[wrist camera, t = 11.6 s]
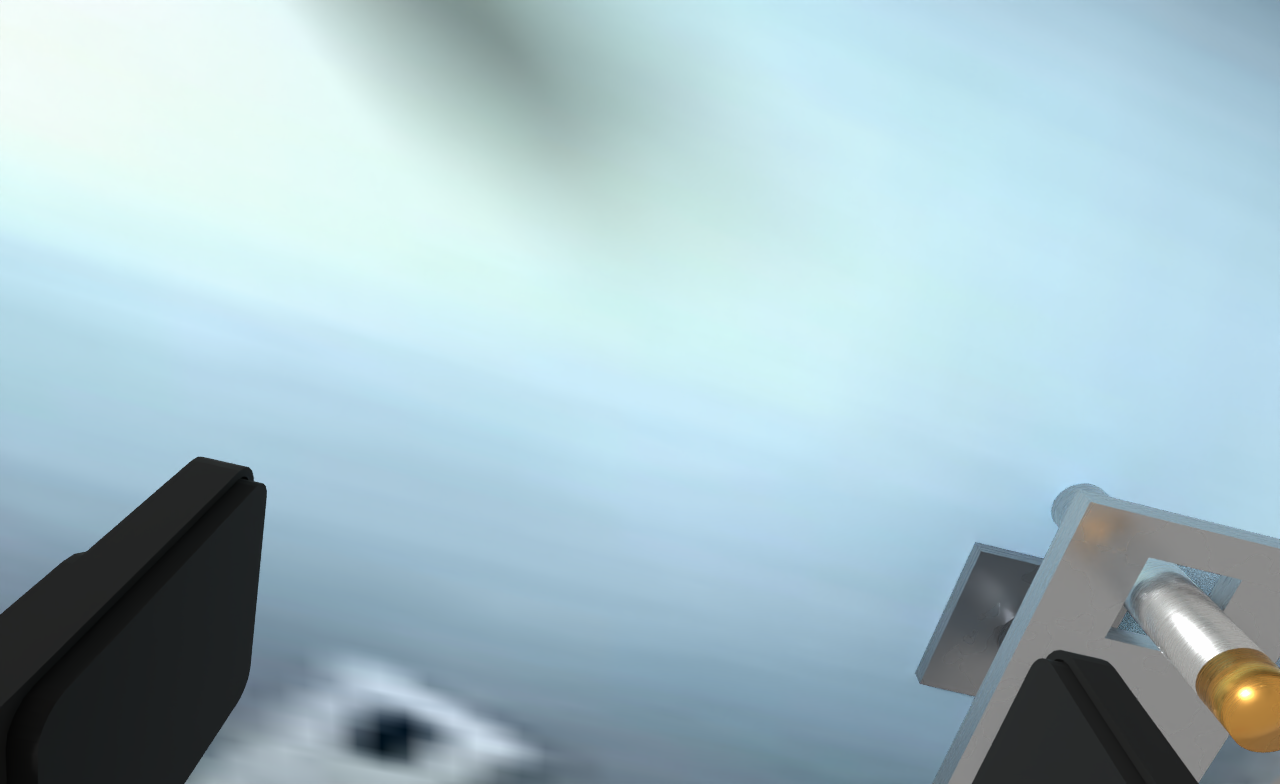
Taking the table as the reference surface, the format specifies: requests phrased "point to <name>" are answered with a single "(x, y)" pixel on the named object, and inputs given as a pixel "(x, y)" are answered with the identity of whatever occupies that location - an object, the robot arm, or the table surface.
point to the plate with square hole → (1093, 619)
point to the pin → (1203, 646)
